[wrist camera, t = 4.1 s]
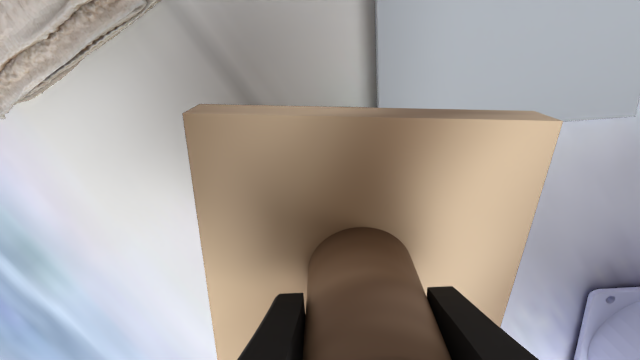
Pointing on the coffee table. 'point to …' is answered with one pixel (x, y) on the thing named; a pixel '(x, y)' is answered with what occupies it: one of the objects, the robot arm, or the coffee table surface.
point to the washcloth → (54, 40)
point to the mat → (510, 56)
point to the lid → (362, 218)
